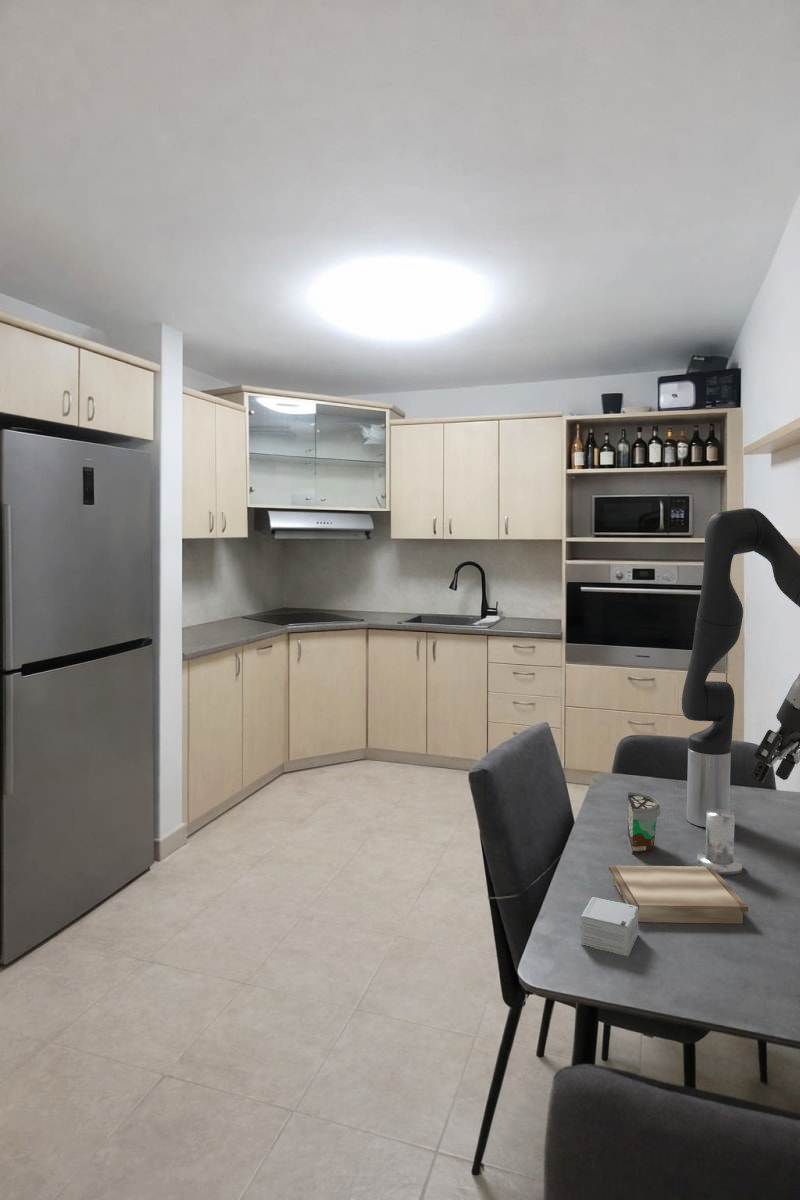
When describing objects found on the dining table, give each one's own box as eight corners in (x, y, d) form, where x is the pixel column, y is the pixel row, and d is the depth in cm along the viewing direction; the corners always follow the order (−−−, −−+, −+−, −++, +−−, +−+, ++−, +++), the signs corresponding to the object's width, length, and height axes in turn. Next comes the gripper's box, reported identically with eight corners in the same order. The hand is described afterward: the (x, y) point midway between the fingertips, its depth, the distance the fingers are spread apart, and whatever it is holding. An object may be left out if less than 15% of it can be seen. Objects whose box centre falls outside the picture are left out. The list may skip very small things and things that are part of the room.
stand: (608, 880, 143) (608, 864, 143) (710, 881, 143) (711, 866, 142) (631, 922, 127) (632, 905, 127) (747, 924, 126) (748, 907, 126)
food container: (663, 859, 153) (664, 811, 152) (632, 856, 154) (633, 809, 154) (655, 836, 165) (656, 792, 164) (626, 834, 166) (627, 791, 166)
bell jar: (690, 857, 154) (691, 806, 153) (731, 858, 153) (733, 806, 153) (705, 875, 145) (707, 820, 145) (749, 876, 145) (750, 821, 144)
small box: (591, 924, 127) (592, 895, 126) (639, 935, 123) (639, 905, 123) (579, 945, 120) (579, 915, 120) (629, 958, 116) (629, 926, 116)
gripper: (808, 694, 142) (771, 765, 146) (768, 694, 133) (730, 769, 138) (846, 714, 136) (805, 788, 141) (807, 716, 128) (765, 794, 133)
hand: (768, 779), depth 139 cm, fingers open, 8 cm apart
